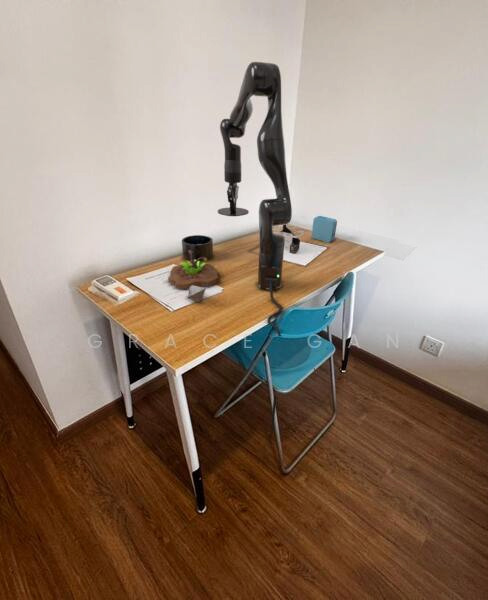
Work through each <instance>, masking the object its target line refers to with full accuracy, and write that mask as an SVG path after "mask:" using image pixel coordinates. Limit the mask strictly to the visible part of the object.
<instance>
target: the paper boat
mask: <svg viewBox="0 0 488 600" xmlns="http://www.w3.org/2000/svg"><path fill="white" fill-rule="evenodd" d="M211 287H212V285H211V286H209V287H198V286H193V285H192V286H190V288H189V289H188V294H187V298H188V299H190V300H192V301H194V302H196V303H200V302H201V300H202V299H203V296H204V294H205V291H206V290H207V289H209V288H211Z"/></svg>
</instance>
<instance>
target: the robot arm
mask: <svg viewBox="0 0 488 600" xmlns="http://www.w3.org/2000/svg"><path fill="white" fill-rule="evenodd" d="M242 78H243V79H242V82H241V85H240V88H239V92H238V97H237V99H236V102H235V105H234V106H233V108H232V110H231V112H230V114H229V118H223V119H221V121H220V124H219V131H220V136H221V138H222V139H221V140H222V144H223V149H224V165H223V169H224V174H223V175H224V182H225V183H228V186H227V190H226V195H227V202H228V203H229V207H230V211H235V200H236V202H237V201H238V199H239V188H240V186H239V185H238V184H239V183H241V182H242V147H241V145H239V144H236V143H233V142H232V140H231V139H240V138H243V137H244V136H245V133H246V128H247V124H248V122H249V120H250V119H251V117H252V115H253V110H254V107H253V103H252V100H251V97H253V96H254V97H261V98H262V97H263V98H267V111H266V116H265V118H264V121H263V123H262V125H261V127H260V129H259V132H258V133H257V138H256V149H257V157H258V161H259V164H260V166H261V167H262V169H263V171H264V172H265V174H266V175H267V176H268V178H269V180H270V181H271V183H272V185H273V188H274V191H275V198H266V199H265V198H264V199H261V202H260V203H259V207H258V236H259V237H258V238H259V246H258V247H259V249H258V268H257V269H258V271H257V272H258V273H257V286H258V288H260V290H262V291H263V290H265V291H269V295H270V300H271V302H272V303H273V304H274V305H276V306H277V307H278V308H279V309H278V310H277V311H276V312H273V313H272V314H270V315H269V316H268V318H267V324H268V325H269V326H271V327H272V328H273V329H275V331H276V332H277V336H278V337H280V338H281V337H282V333H281V330H280V328H279V327H278V326H277V325H276V324H275V323H273V322H271V319H273V318H274V317H275V316H277V315H279V314H280V313H281V312H282V310H283V306H282V305H281V304H280V303H278V302H277V301H276V300H275V298H274V293H273V292H277V290H279V289H280V288H282V285H283V283H282V281H283V280H282V279H283V267H284V260H283V256H284V244H285V237H284V236H283V235H282V234H279V232H275V231H274V230H273V227H276V226H277V227H278V226H283V225H286V226H287V225H288V224H290V223H291V221H292V217H293V208H292V199H291V195H290V188H289V182H288V175H287V165H286V163H287V162H286V149H285V137H284V136H285V135H284V128H283V113H282V75H281V70H280V67H279V66H278V65H277V64H276V63H271V62H265V61H264V62H263V61H251V62H250V63H249V64H248V65H247V67H246V69H245V71H244V75H243V77H242ZM272 400H273V402H272V404H273V405H272V414H271V423H270V438H273V437H274V430H275V429H274V426H275V417H276V405H277V396H276V395H274V396H273V399H272Z"/></svg>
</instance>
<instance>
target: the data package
mask: <svg viewBox="0 0 488 600" xmlns="http://www.w3.org/2000/svg"><path fill="white" fill-rule="evenodd" d="M312 221H313V222H312V229H311V238H312V239H314V240H318V241H321V242H325V243H328V244H329V243H331V242H333V241H334V240H335V238H336V233H337V232H336V231H337V226H338V220H337V219H336V218H331V217H327V216H323V215H317V216H315V217H314V218H313V220H312Z"/></svg>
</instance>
